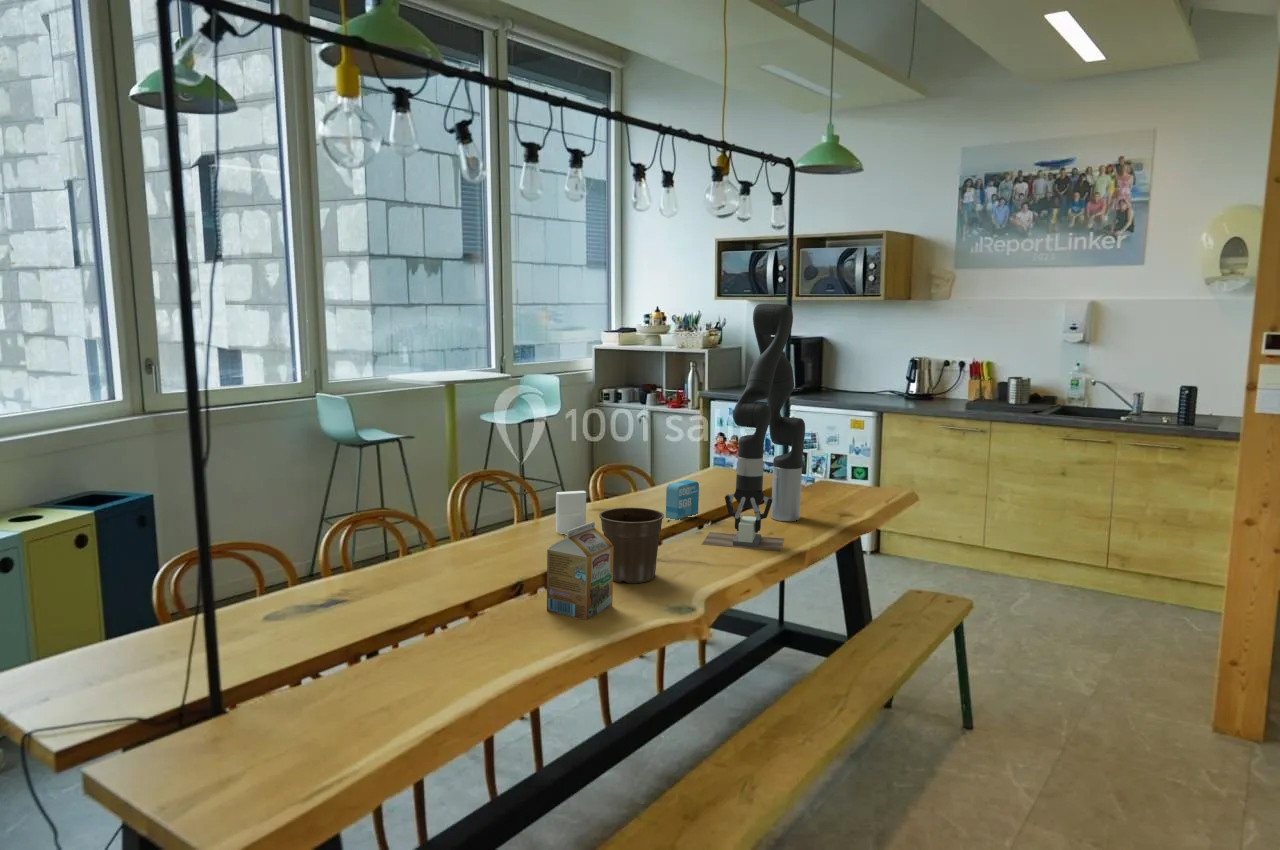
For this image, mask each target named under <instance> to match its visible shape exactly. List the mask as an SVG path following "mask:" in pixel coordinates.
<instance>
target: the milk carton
mask: <svg viewBox="0 0 1280 850" xmlns="http://www.w3.org/2000/svg"><path fill="white" fill-rule="evenodd" d="M613 547H614V546H613V545H612V544H611V542H610V541H609V540H608V539H607V538H606V537H605V536H604V533H601V531H599V530H598V528H597V527H596V526H595V522H594V521H591V522H588V523H586V524H585V525H582V526H580V527H577V528H574V529H571V530H569V531H567V535H566V537H565V538H562V539H561V540H558V541H556V542H555V543H553V544H552V545H550V546H549V547H548V548H546V549H547V551H546V552H547V553H546V556H547V557H546V558H547V559H546V560H547V561H546V563H547V564H546V568H547V569H546V611H547V612H549V613H554V614H559V615H561V616H562V615H563V616H565V617H566V616H567V617H570V618H575V619H578V620H583V621H588V620H590V619H591V618H594V617H595V616H598V615H599V614H601V613H603V612H605V611H606V610H609V609H611V608H612V607H613V595H614V594H613V593H614V592H613V588H614V581H613Z"/></svg>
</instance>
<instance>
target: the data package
mask: <svg viewBox="0 0 1280 850" xmlns="http://www.w3.org/2000/svg"><path fill="white" fill-rule="evenodd" d="M665 491H666V494H665V519H666V518H670V519H675V520H679V519H681V520H682V519H684V518H685V517H688V516H692V515H696V514H698V515H699V501H700V500H699V499H700V498H699V497H700V485H699V482H698V481H695V480H690V479H685V480H680V481H676V482H675V481H674V482H672V483H668V485H667V486H666V489H665ZM685 519H686V518H685Z"/></svg>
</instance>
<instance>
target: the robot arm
mask: <svg viewBox="0 0 1280 850" xmlns="http://www.w3.org/2000/svg"><path fill="white" fill-rule="evenodd" d="M793 312H794V311H793V309H792V307H791V306H790V305H789V304H786V303H785V304H784V303H759V304H756V306H755V307H754V309H753V313H752V323H753V324H752V325H753V329H754V334H755V338H756V343H757V348H758V351H759V356H758V357H757V358H756V360H755V361H754V362H753V364H752V365H751V367H750V369H749V374H748V377H747V381H746V387H745V388H744V391H743V392H742V394H741V396H740V397H739V399H738V401H737V402H736V404H735V406H734V409H733V412H732V419H733V420H732V421H733V422H734V424H735V425H736V426H738V427H741V428H751V429H753V428H755V431H754V433H752V434H747V435H742V436H740V437H739V438H738V449H737V450H738V451H737V452H738V453H737V462H736V471H735V472H736V476H735V477H736V478H735V479H736V480H735V491H734V493H730V494H729V493H727V494H726V495H725V496H724V502H725V505H726V509H727V512H728V516H730V517H734V529H735V530H736V532H739V523H740V521H741V519H742V517H741V513H742V511H743V509H752V510H753V512H754V514H755V516H754V517H756V521H755V533H756V534H759V532H760V531H761V528H762V520H763V519H767V518H768V516H769V513H770V518H771V519H772V520H775V521H780V522H797V521H799V520H800V514H801V494H802V473H803V472H802V471H803V460H804V459H803V458H804V446H805V435H806V423H805V421H804V419H803V418H801V417H793V416H791V417H789V416H783V415H782V413H781V410H782V408H783V406H784V405H785V403H786V402H787V400H788V399H789V398H790V396H791V394H792V392H793V391H794V389H795V377H794V370H793V367H792V364H791V362H790V361H789V359H788V358H787V357H786V356H785V355H784V353H783V352H784V349H785V347H786V345H787V341H788V339H789V337H790V334H791V331H792V327H793V324H794V322H793V321H794V314H793ZM772 336H774V338H773V337H772ZM762 400H766V403H767V404H766V403H763V402H762V403H761V402H757V401H762ZM768 429H769V437H770V441H771V442H772V444H774V445H777V446H787V447H791V450H789V451H788V452H787V453H783V454H780V455H776V456H775V457H774V458H773V462H772V482H771V483H772V486H771V487H772V488H771V496H766V495H764V492H763V490H764V489H763V485H764V468H765V467H764V466H765V465H764V444H765V439H766V436H767V431H768ZM734 499H735V500H736V502H737V503H738V507H737V509H736V511H734V506H733V501H734ZM762 501H764V502H763V503H764V505H765V508H764V512H763V513H761V510H760V506H759V505H760V504H761V502H762ZM796 520H797V521H796Z"/></svg>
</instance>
